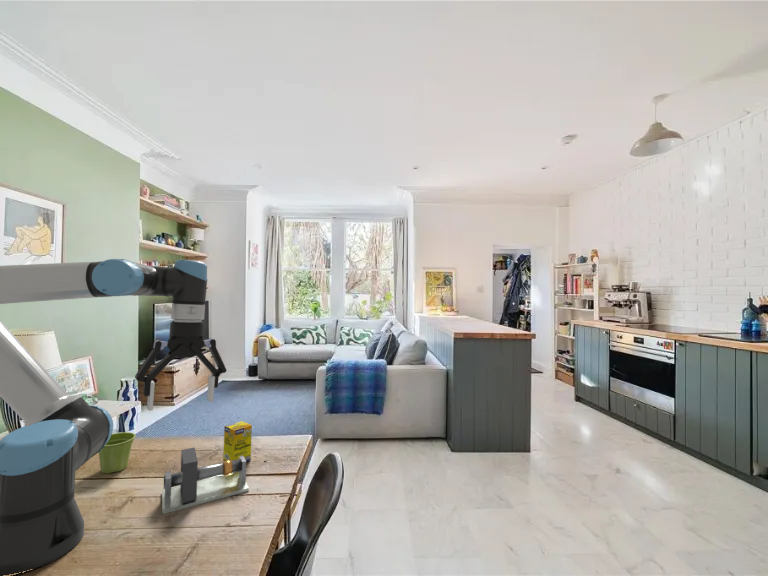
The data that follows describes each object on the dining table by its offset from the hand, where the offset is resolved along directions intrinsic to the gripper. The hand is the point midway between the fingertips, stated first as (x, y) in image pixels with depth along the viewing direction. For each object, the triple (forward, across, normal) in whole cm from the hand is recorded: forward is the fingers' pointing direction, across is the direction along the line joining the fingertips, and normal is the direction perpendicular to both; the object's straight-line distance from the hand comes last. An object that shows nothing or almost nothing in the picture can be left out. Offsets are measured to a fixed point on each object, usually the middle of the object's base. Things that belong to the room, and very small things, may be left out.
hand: (181, 404), depth 89 cm
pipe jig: (+23, +6, -3) cm, 24 cm away
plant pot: (+24, -9, +27) cm, 37 cm away
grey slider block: (+22, +2, -2) cm, 22 cm away
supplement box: (+23, +19, +9) cm, 31 cm away
